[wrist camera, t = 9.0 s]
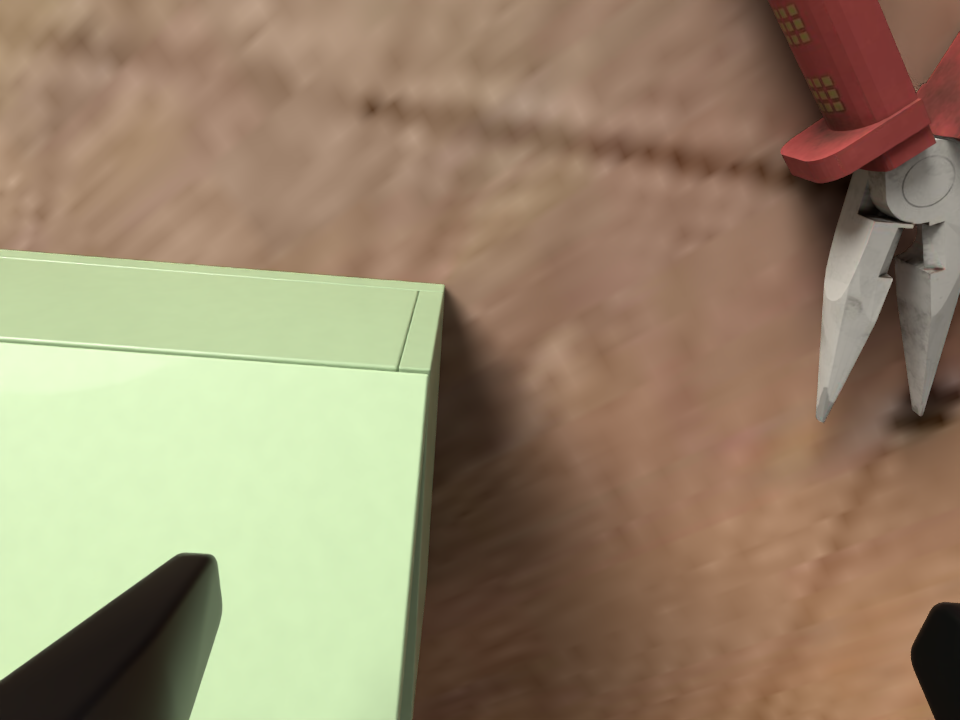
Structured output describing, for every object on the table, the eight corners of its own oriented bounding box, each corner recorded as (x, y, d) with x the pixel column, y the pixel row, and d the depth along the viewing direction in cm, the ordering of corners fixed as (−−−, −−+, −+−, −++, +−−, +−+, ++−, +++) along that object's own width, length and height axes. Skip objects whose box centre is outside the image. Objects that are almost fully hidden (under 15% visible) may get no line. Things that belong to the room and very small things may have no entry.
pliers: (666, 416, 21) (690, 462, 18) (667, -497, 12) (713, -634, 10) (1034, 377, 20) (1108, 420, 18) (1305, -610, 12) (1519, -784, 9)
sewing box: (426, 586, 24) (411, 732, 19) (6, 559, 23) (-129, 701, 18) (445, 284, 19) (431, 369, 14) (-91, 241, 18) (-316, 312, 13)
